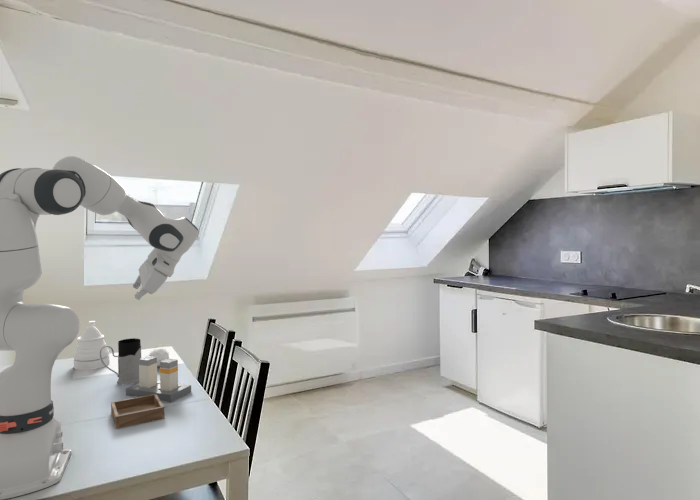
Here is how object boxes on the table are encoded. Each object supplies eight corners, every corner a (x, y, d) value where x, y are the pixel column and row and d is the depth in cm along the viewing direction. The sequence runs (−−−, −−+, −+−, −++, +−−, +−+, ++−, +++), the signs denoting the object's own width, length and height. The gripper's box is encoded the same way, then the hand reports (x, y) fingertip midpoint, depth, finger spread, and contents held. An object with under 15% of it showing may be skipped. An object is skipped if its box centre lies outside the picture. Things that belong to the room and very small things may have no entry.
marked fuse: (178, 394, 155) (177, 359, 154) (170, 398, 151) (169, 363, 151) (168, 392, 156) (168, 358, 156) (160, 396, 153) (159, 361, 152)
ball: (154, 372, 187) (146, 355, 189) (173, 363, 190) (165, 346, 192) (151, 368, 180) (143, 351, 182) (171, 359, 183) (163, 341, 186)
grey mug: (142, 382, 167) (141, 342, 166) (98, 387, 161) (97, 346, 161) (143, 375, 175) (142, 337, 174) (102, 379, 169) (101, 340, 169)
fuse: (157, 390, 158) (156, 357, 158) (148, 394, 154) (148, 360, 154) (148, 389, 159) (147, 356, 159) (139, 393, 156) (138, 359, 155)
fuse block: (191, 392, 157) (191, 385, 157) (170, 402, 147) (170, 395, 147) (148, 385, 163) (148, 378, 163) (125, 395, 154) (125, 388, 154)
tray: (164, 418, 135) (164, 406, 135) (116, 428, 128) (115, 416, 128) (156, 404, 146) (156, 393, 146) (111, 413, 139) (110, 402, 139)
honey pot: (78, 362, 192) (77, 320, 191) (112, 359, 196) (111, 318, 195) (70, 371, 180) (68, 326, 179) (106, 368, 184) (104, 324, 183)
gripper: (151, 246, 159) (125, 277, 158) (157, 265, 142) (128, 299, 141) (166, 255, 162) (141, 286, 161) (174, 275, 145) (146, 309, 144)
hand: (135, 292), depth 151 cm, fingers open, 8 cm apart
